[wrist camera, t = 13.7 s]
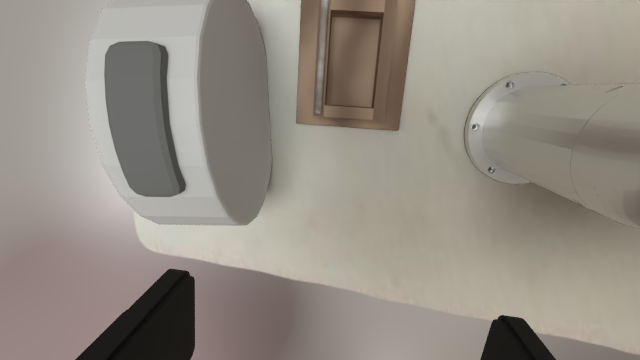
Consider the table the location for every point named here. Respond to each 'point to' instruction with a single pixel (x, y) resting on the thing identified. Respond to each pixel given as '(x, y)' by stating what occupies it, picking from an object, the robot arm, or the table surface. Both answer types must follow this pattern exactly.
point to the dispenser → (353, 62)
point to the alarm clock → (182, 108)
